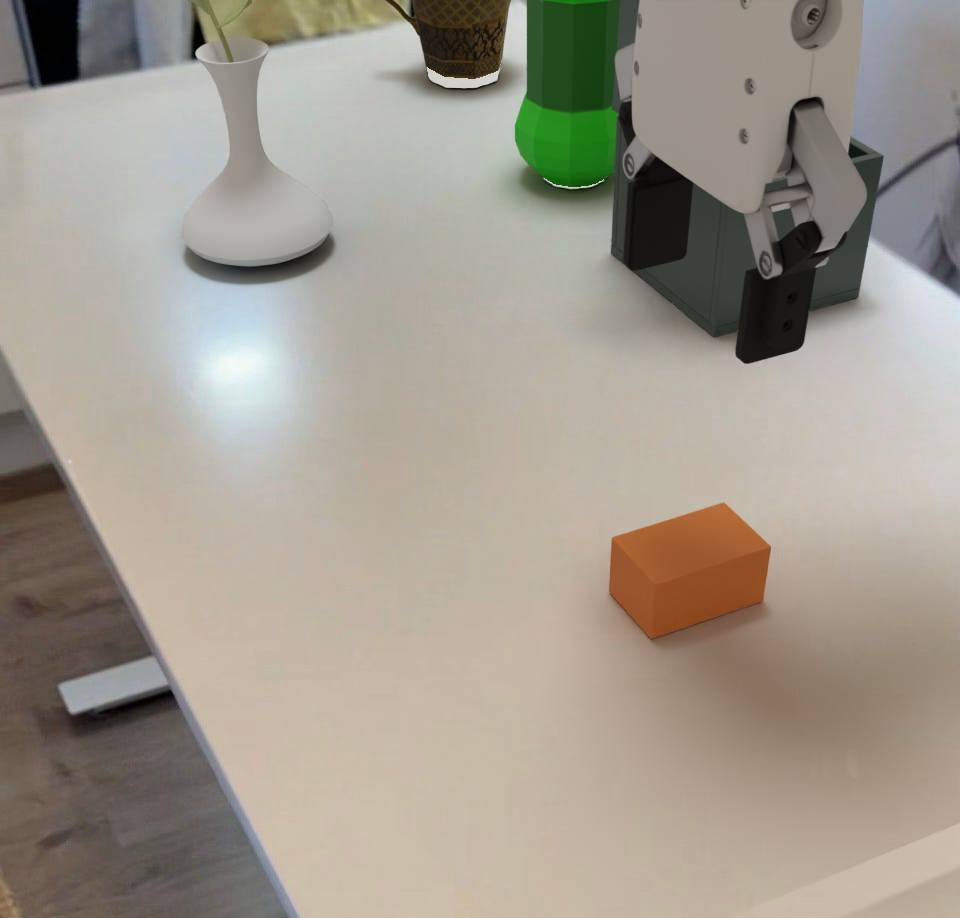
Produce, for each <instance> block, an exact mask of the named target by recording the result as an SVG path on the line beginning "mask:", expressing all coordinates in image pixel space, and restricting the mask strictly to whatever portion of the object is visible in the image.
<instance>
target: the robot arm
mask: <svg viewBox="0 0 960 918" xmlns="http://www.w3.org/2000/svg"><path fill="white" fill-rule="evenodd" d="M864 1H865V0H640V1H639V9H638V18H637V27H636V36H635V43H633V44H630V45H628V46H626V47H624V48H622V49H620V50H618V51H617V52H616V55H615V69H616V75H617V81H618V88H619V94H620V100H623V103H622V104H621V106H620V109H619V116H618V119H619V122H620V124H621V127H622V130H623V134H624V137H625V140H626V143H627V146H628V148H627V150H626V151H625V153H624V155H623V169H624V172H625V175H626V176H627V178H629V179H634V178H635V181H634V182H629V183H628V190H627V206H626V222H625V238H624V254H623V262H622V264H623V265H624V266H625V267H626V268H627V269H628V270H630V271H631V272H634V271H637V270H641V269H645V268H649V267H653V266H658V265H662V264H666V263H670V262H674V261H678V260H681V259H683V258H684V257H685V256H686V253H687V244H688V234H689V224H690V213H691V203H692V192H693V183H695V184H696V185H698V186H699V187H701V188H702V189H704V190H705V191H706V192H708V193H709V194H711V195H712V196H714V197H715V198H717V199H718V200H719V201H721V202H722V203H724V204H726V205H727V206H729V207H730V208H732V209H734V210H736V211H738V212H740V213H744V217H745V221H746V225H747V229H748V233H749V237H750V241H751V245H752V248H753V252H754V256H755V260H756V264H757V268H755V269H751V270H747V271H746V274H745V278H744V286H743V294H742V302H741V309H740V317H739V325H738V331H737V334H736V340H735V351H734V352H735V357H736V359H738V360H739V361H740V362H742V363H743V364H744V365H749V364H753V363H757V362H760V361H765V360H768V359H772V358H775V357H780V356H783V355H786V354H790V353H794V352H797V351H799V350H800V349H801V348H802V347H803V345H804V344H805V340H806V333H807V328H808V327H807V326H808V321H809V317H810V316H809V315H810V311H809V310H810V304H811V298H812V292H813V286H814V280H815V274H816V268H817V267H819V266H823V265H825V264H826V263H827V262H828V260H829V255H831V254H832V253H833V252H835V251H836V250H837V249H839V248H840V247H841V246H842V245H843V244H844V243H845V241H846V237H847V231H848V230H849V229H850V227H851V225H852V224H853V222H854V221H855V219H856V217H857V216H858V214H859V212H860V211H861V209H862V207H863V206H864V204H865V202H866V199H867V189H866V186H865V183H864V182H863V180H862V178H861V176H860V175H859V173H858V171H857V169H856V167H855V166H854V164H853V162H852V160H851V159H850V157H849V155H848V150H849V143H850V136H851V134H852V129H853V121H854V114H855V105H856V98H857V89H858V79H859V70H860V60H861V48H862V37H863V24H864V23H863V22H864V4H865V2H864ZM851 137H852V136H851ZM783 176H784V177H785V178H786V179H787V183H788V187H784V188H780V189H776V190H771V191H767V192H764V191H765V185H766V184H767V183H772V182H773V179H777V178H782V177H783ZM788 208H791V213H792V217H793V221H794V225H795V228H794V229H793V230H792V231H790V232H789V233H788V234H787V235H786V236H784V237H783V238H782V239H781V240H780V241H779V237H778V233H777V229H776V225H775V221H774V217H773V213H772V212H775V211H780V210H784V209H788Z"/></svg>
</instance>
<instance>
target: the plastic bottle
mask: <svg viewBox="0 0 960 918" xmlns="http://www.w3.org/2000/svg"><path fill="white" fill-rule="evenodd" d="M619 13H620V0H526V91H525V94H524V96H523V99H522V103H521V105H520V109H519V111H518V114H517V117H516V120H515V123H514V142H515V145H516V147H517V150H518V152H519V156H521V158H522V159H523V160H524V162H525V163H526V164H527V165H528V166H530V167H531V168H532V169H533V170H534V171H535V172H536V173H537V174H538V175H540V176H541V177H542V178H543V177H544V178H545V179H547V180H548V181H550V182H552V183H553V184H556V185H562V186H568V187H581V186H589V185H592V184H596V183H598V182H599V181H602V180H603V179H605V178H606V179H607V178H608V177H610V176H611V175H612V174H614V170H615V147H616V124H617V116H619V114H618V113H616V112H615V111H613V110H612V104H613V91H614V78H615V55H616V52H617V39H618V26H619ZM606 179H605V180H606Z"/></svg>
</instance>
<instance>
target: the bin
mask: <svg viewBox="0 0 960 918" xmlns="http://www.w3.org/2000/svg"><path fill="white" fill-rule="evenodd" d="M627 148H628V146H627V143H626V140H625V137H624V134H623V130H622V127H621V124H620V122H619V119H618V116H617V124H616V147H615V170H614V173H613V195H612V216H611V217H612V218H611V219H612V220H611V239H610V240H611V243H610V254H611V255H613V256H614V257H615V258H617V259H618V260H619V261H621V263H623V254H624V238H625V222H626V206H627V190H628V183H629V182H634V181H635V178H634V179H629V178H627V176H626V175H625V172H624V169H623V155H624V153H625V151H626V150H627ZM848 155H849V157H850V159H851V160H852V162H853V164H854V166H855V167H856V169H857V171H858V173H859V175H860V176H861V178H862V180H863V182H864V183H865V186H866V189H867V199H866V202H865V204H864V206H863V207H862V209H861V211H860V212H859V214H858V216H857V217H856V219H855V221H854V222H853V224H852V225H851V227H850V229H849V230H848V231H847V237H846V241H845V243H844V244H843V245H842V246H841V247H840V248H839V249H837V250H836V251H835V252H833V253H832V254H831V255H829V260H828V262H827V263H826V264H825V265H823V266H819V267H817V268H816V274H815V280H814V286H813V292H812V298H811V304H810V310H809V312H810V311H813V310H817V309H822V308H825V307H828V306H833V305H836V304H839V303H843V302H847V301H851V300H854V299H858V298H859V297H860V291H861V285H862V279H863V275H864V270H865V269H864V268H865V264H866V257H867V253H868V247H869V241H870V235H871V230H872V225H873V219H874V214H875V209H876V201H877V197H878V191H879V186H880V182H881V175H882V169H883V164H884V158H885V155H883V154H882V153H880V152H879V151H877V150H875V149H873V148H872V147H870V146H868V145H866V144H865V143H863V142H861V141H859V140H857V139H856V138H854V137H853V136H850V143H849V150H848ZM784 187H788V183H787V179H786V178H785V177H784V176H783V177H782V178H777V179H773V182H772V183H767V184H766V185H765V191H764V192H767V191H771V190H776V189H780V188H784ZM772 213H773V217H774V221H775V225H776V229H777V233H778V237H779V241H780V240H781V239H782V238H783V237H784V236H786V235H787V234H788V233H789V232H790V231H792V230H793V229H794V228H795V225H794V221H793V217H792V213H791V208H788V209H784V210H780V211H775V212H772ZM755 268H757V264H756V260H755V256H754V252H753V248H752V245H751V241H750V237H749V233H748V229H747V225H746V221H745V217H744V213H740V212H738V211H736V210H734V209H732V208H730V207H729V206H727V205H726V204H724V203H722V202H721V201H719V200H718V199H717V198H715V197H714V196H712V195H711V194H709V193H708V192H706V191H705V190H704V189H702V188H701V187H699V186H698V185H696V184H695V183H693V192H692V203H691V213H690V224H689V234H688V244H687V253H686V256H685V257H684V258H683V259H681V260H678V261H674V262H670V263H666V264H662V265H658V266H653V267H649V268H645V269H641V270H637V271H633V272H634V273H635V274H636V275H637V276H639V277H640V278H641V279H642V280H644V281H645V282H646V283H647V284H648V285H650V287H652V288H653V289H654V290H656V291H657V292H658V293H659V294H661V295H662V296H663V297H664V298H665V299H667V300H668V301H669V302H670V303H671V304H673V305H674V306H675V307H677V308H678V309H679V310H680V311H681V312H683V313H684V314H685V315H687V316H688V317H689V318H690V319H691V320H692V321H693V322H695V323H696V324H698V325H699V326H700V327H701V328H702V329H703V330H704V331H706V332H707V333H709V335H711V336H712V337H714V338H715V337H716V338H717V337H719V336H723V335H727V334H730V333H733V332H738V325H739V317H740V309H741V302H742V294H743V286H744V278H745V274H746V271H747V270H751V269H755ZM857 297H858V298H857Z"/></svg>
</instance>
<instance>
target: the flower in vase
mask: <svg viewBox="0 0 960 918" xmlns="http://www.w3.org/2000/svg"><path fill="white" fill-rule="evenodd" d="M188 1H189V2H191V3H193V4H195V5H196V6H197V7H199V8H200V9H201V10H202V11H203V12H204V13H206V14H207V15H209V17H210V19H211V22H212V24H213V25H214V26H213V27H214V28H215V30H216V32H217V34H218V37H219V39H216V40H212V41H208V42H206V43H204V44H202V45H200V46H199V47H198V48H197V49H196V50H195V56H196V57H195V58H197V60H198V61H199V62H200V63H201V64H202V65H203V66H204V68H205V69H206V71H207V72H208V73H209V75H210V76H211V78H212V80H213V82H214V85H215V87H216V89H217V93H218V95H219V98H220V100H221V105H222V109H223V112H224V116H225V122H226V127H227V132H228V133H227V134H228V143H229V153H228V154H229V155H228V159H227V163H226V165H225V166H224V168H223V170H222V171H221V172H220V173H219V174H218V175H217V176H216V178H215V179H213V181H211V182H210V183H209V184H208V185H207V186H206V187H205V188H204V190H202V191H201V193H199V194H198V196H197V197H196V198H195V199H194V200H193V201H192V203H191V205H190V206H189V207H188V209H187V210H186V212H185V213H184V215H183V218H182V223H181V227H180V228H181V229H180V235H181V239H182V240H183V242H184V243H185V245H187V246H188V248H189V249H190V250H191V251H192V252H193V253H194V254H196V255H197V256H199V257H201V258H203V259H205V260H207V261H210V262H214V263H217V264H222V265H227V266H228V265H229V266H237V267H261V266H269V265H275V264H280V263H284V262H288V261H291V260H294V259H297V258H300V257H302V256H304V255H306V254H309V253H310V252H312V251H314V250H315V249H317V248H318V247H320V246H321V245H322V244H323V243H324V242H325V240H326V239H327V238H328V236H329V235H330V232H331V230H332V228H333V225H334V216H333V215H332V212H331V210H330V208H329V206H328V204H327V203H326V201H325V200H324V199H323V198H322V197H321V196H320V195H319V194H317V193H316V192H315V191H314V190H313V189H312V188H310V187H309V186H307V185H306V184H305V183H303V182H302V181H300V180H298V178H295V177H294V176H292V175H290V174H288V173H287V172H285V171H284V170H282V169H281V168H279V167H278V166H276V165H275V164H274V163H273V162H272V161H271V160H270V159H269V157H268V155H267V154H266V152H265V148H264V146H263V143H262V138H261V132H260V126H259V116H258V115H259V113H258V84H259V77H260V72H261V70H262V69H261V68H262V65H263V63H264V62H265V59H266V57H267V56H268V53H269V50H270V48H269V45H268V44H267V43H266V42H265V41H262V40H260V39H257V38H250V37H227V38H226V36H225V34H224V32H223V30H222V27H225V26H226V25H228V24H230V23H231V22H233V21H234V20H236V19H237V18H238V17H239V16H240V15H241V14H242V13H243V11H244V10H245V9H247V8H249V7H250V6H251V5H252V4H253V0H247V1H246V3H245V4H243V5H241V6H239V7H237V8H236V9H234V10H233V11H230V13H228V14H227V15H226V16H225V17H224V18H223V20H222V21H220V23H219V20H218V17H217V16H216V14H215V12H214V10H213V7H212V5H211V2H210V0H188Z"/></svg>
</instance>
